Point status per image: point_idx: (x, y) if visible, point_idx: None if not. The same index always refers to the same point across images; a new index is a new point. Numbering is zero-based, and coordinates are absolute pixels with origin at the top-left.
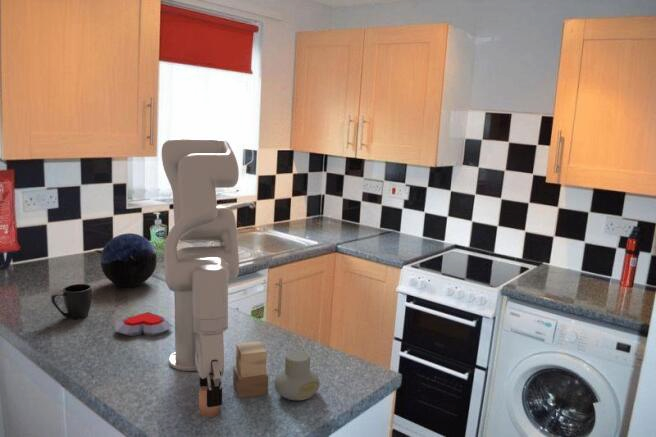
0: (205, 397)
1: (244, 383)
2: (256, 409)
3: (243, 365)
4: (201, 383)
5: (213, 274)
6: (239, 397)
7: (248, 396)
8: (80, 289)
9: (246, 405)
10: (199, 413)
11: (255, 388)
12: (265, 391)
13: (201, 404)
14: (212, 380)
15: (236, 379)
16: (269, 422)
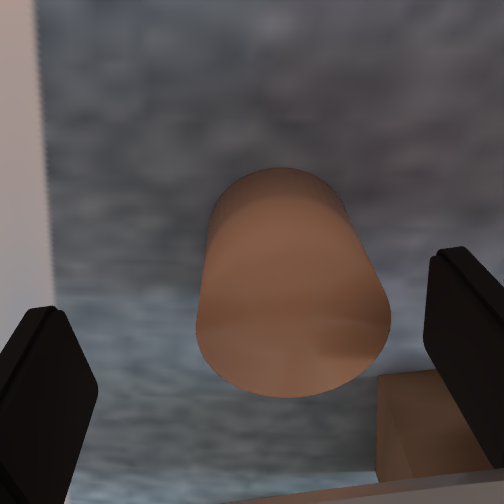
0: (204, 292)
1: (402, 473)
2: (250, 429)
3: None
4: (443, 276)
5: None
6: (379, 380)
7: (377, 411)
8: None
9: (297, 398)
10: (255, 173)
11: (388, 471)
12: (379, 478)
13: (233, 222)
14: (440, 368)
15: None
16: (135, 459)
